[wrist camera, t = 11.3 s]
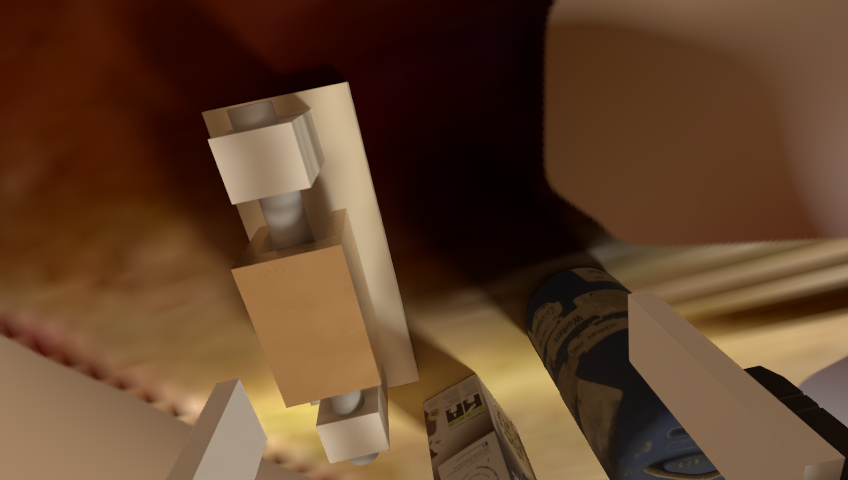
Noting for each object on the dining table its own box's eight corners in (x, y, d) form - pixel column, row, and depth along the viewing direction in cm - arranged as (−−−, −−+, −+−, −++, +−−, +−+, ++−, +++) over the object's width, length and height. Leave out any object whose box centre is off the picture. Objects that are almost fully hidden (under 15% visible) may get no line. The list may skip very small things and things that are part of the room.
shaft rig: (347, 81, 31) (337, 87, 22) (418, 370, 41) (430, 452, 32) (209, 110, 31) (144, 127, 22) (313, 394, 41) (296, 483, 32)
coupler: (346, 207, 31) (341, 244, 24) (378, 325, 35) (381, 384, 28) (259, 227, 31) (230, 269, 24) (301, 344, 34) (286, 407, 28)
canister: (535, 255, 38) (660, 402, 21) (634, 266, 40) (823, 412, 23) (509, 347, 41) (601, 537, 25) (602, 355, 43) (747, 539, 26)
